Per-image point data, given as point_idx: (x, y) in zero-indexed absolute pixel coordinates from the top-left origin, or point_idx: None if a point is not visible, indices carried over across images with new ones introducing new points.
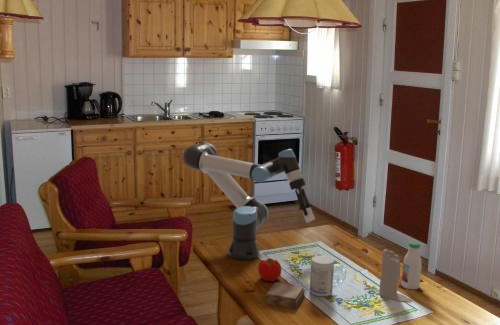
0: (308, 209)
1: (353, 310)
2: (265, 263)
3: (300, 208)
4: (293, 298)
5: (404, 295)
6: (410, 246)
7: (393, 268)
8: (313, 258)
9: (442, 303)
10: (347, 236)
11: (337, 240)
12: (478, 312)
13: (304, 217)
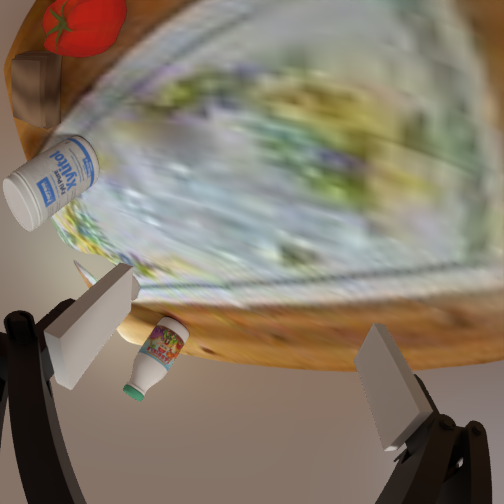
0: (395, 420)
1: None
2: (43, 19)
3: (9, 329)
4: (13, 112)
5: (134, 299)
6: (126, 385)
7: None
8: (9, 183)
9: (136, 325)
10: (493, 356)
11: (483, 330)
12: (132, 339)
13: (94, 286)
